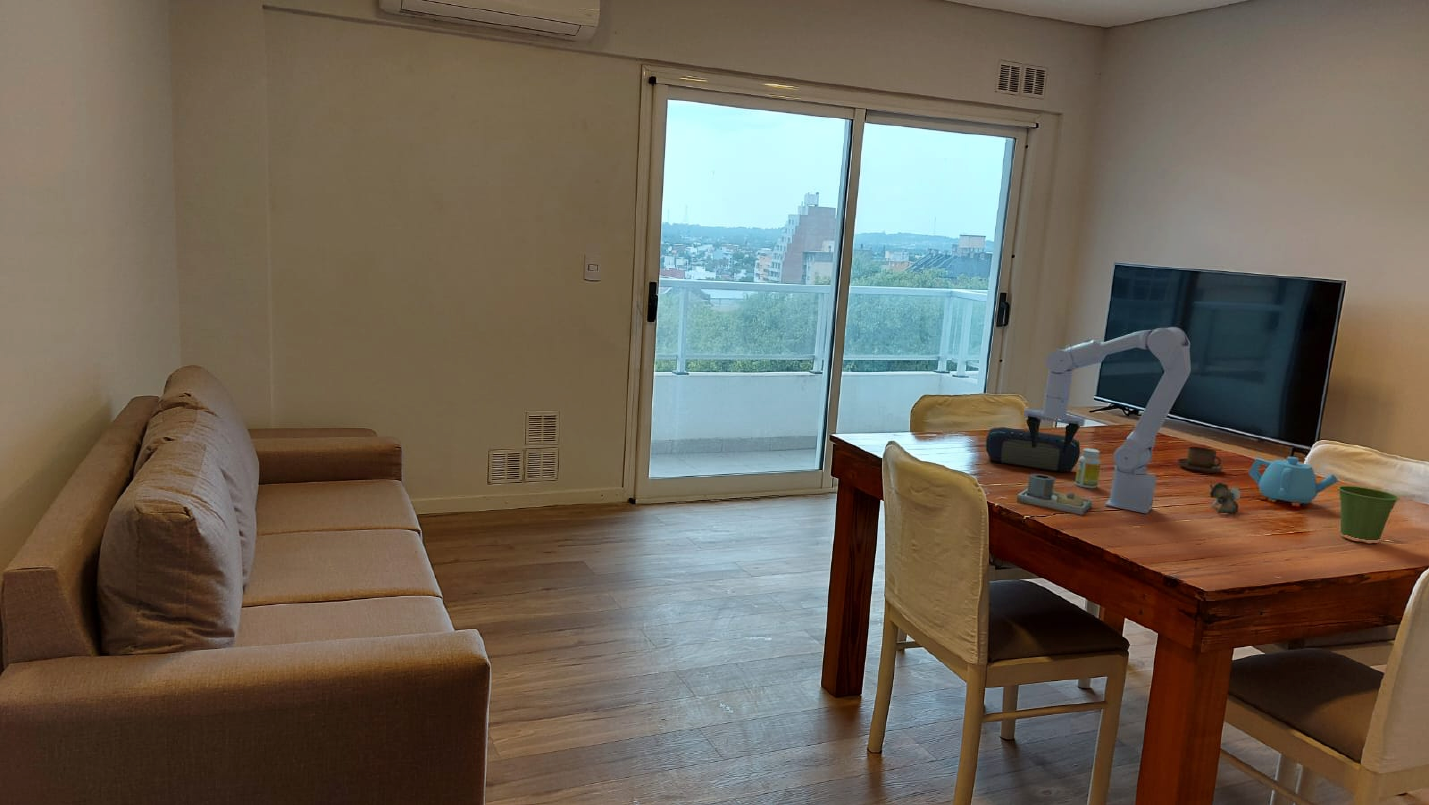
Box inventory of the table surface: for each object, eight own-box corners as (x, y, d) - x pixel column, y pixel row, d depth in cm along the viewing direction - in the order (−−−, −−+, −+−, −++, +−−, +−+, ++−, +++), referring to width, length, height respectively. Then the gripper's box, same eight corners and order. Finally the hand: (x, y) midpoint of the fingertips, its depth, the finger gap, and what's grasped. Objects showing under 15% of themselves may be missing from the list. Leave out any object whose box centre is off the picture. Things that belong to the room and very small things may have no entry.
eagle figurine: (1197, 497, 246) (1200, 498, 237) (1219, 474, 244) (1223, 475, 235) (1224, 519, 243) (1229, 521, 234) (1247, 496, 242) (1252, 498, 233)
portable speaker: (981, 463, 272) (985, 428, 270) (985, 456, 281) (990, 422, 279) (1076, 477, 262) (1081, 441, 261) (1077, 470, 272) (1082, 435, 270)
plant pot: (1395, 542, 222) (1405, 494, 220) (1383, 551, 213) (1393, 502, 211) (1336, 528, 230) (1345, 482, 228) (1322, 537, 222) (1331, 489, 220)
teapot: (1239, 498, 252) (1246, 454, 250) (1250, 488, 265) (1258, 446, 263) (1328, 517, 240) (1337, 470, 238) (1336, 505, 253) (1345, 461, 251)
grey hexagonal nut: (1053, 496, 235) (1056, 476, 234) (1049, 501, 230) (1052, 481, 229) (1029, 492, 238) (1032, 472, 237) (1025, 497, 233) (1028, 477, 232)
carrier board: (1091, 506, 233) (1093, 493, 232) (1082, 514, 224) (1084, 501, 224) (1027, 493, 241) (1029, 480, 240) (1016, 501, 232) (1018, 488, 232)
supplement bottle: (1070, 484, 254) (1076, 448, 252) (1081, 482, 257) (1087, 446, 255) (1090, 489, 250) (1095, 453, 248) (1100, 487, 253) (1106, 451, 251)
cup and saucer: (1226, 471, 285) (1230, 451, 284) (1215, 477, 276) (1218, 456, 275) (1183, 463, 293) (1187, 443, 292) (1171, 468, 284) (1174, 447, 283)
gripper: (1090, 399, 244) (1082, 452, 246) (1031, 390, 251) (1024, 442, 254) (1084, 402, 238) (1076, 456, 240) (1024, 393, 245) (1017, 446, 248)
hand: (1049, 449), depth 246 cm, fingers open, 7 cm apart
